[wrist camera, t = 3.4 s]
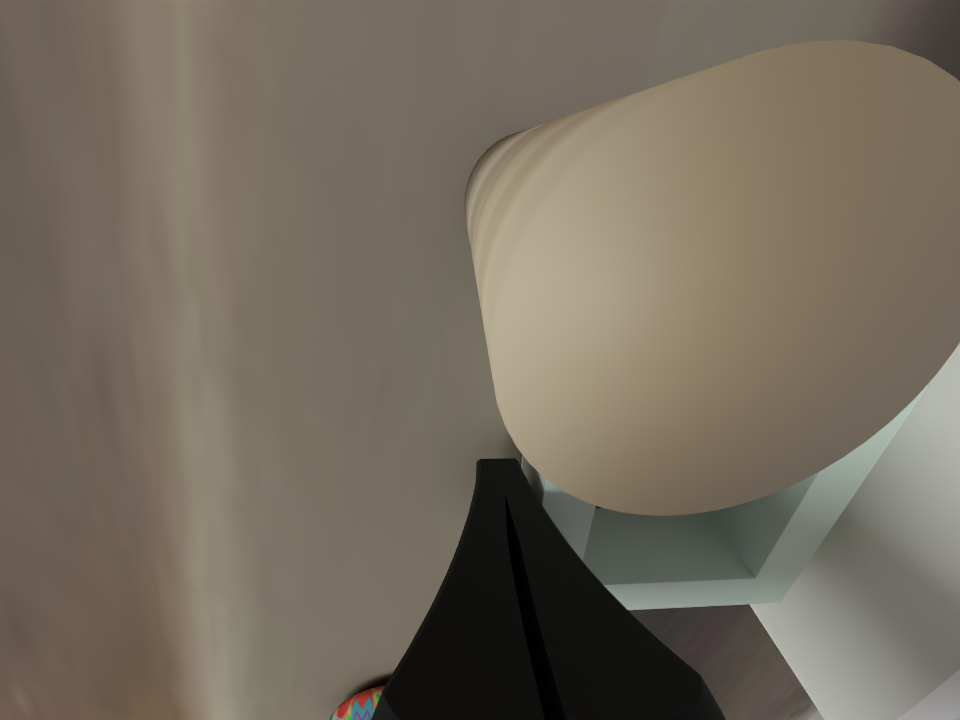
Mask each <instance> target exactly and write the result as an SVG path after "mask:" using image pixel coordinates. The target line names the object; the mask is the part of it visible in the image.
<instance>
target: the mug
mask: <svg viewBox="0 0 960 720" xmlns="http://www.w3.org/2000/svg"><path fill="white" fill-rule="evenodd" d="M384 687H385V685H384V686H379V687H376V688H372V689H369V690H366V691H363V692H360V693H358V694H356V695H354V696H352V697H350V698H349V699H347V700H346V701H344V702H343V703H342V704H340V705H339V706H338V707H337V708H336V710H335V711H334V712H333V714H332V715H331V717H330V719H329V720H371V718H372V716H373V713H374V711H375V708H376V706H377V703H378V701H379V698H380V696H381V693H382V690H383V689H384Z"/></svg>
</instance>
